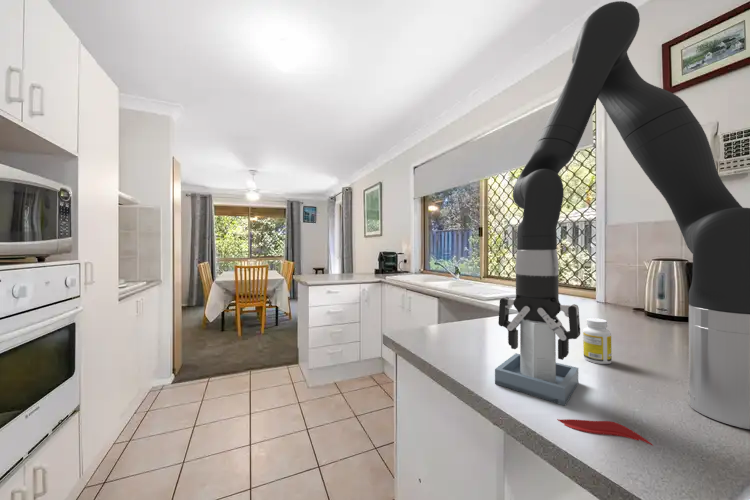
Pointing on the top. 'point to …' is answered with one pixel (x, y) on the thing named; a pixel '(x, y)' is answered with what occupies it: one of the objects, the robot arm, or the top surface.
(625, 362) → the top surface
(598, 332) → the supplement bottle
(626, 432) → the cayenne pepper
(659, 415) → the top surface
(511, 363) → the tray
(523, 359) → the skincare box
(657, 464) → the top surface
